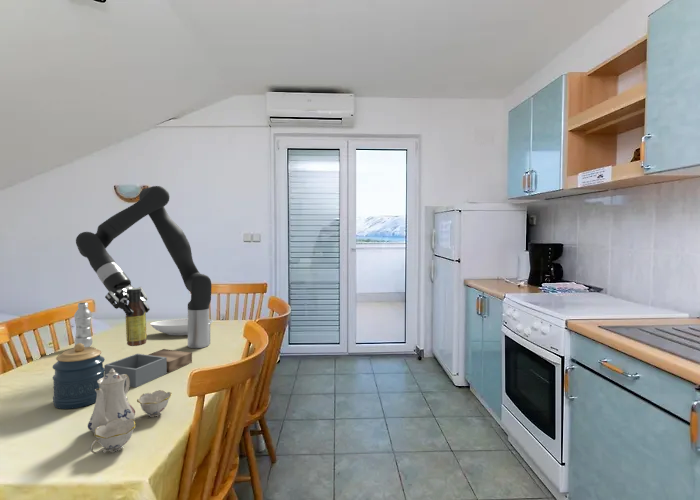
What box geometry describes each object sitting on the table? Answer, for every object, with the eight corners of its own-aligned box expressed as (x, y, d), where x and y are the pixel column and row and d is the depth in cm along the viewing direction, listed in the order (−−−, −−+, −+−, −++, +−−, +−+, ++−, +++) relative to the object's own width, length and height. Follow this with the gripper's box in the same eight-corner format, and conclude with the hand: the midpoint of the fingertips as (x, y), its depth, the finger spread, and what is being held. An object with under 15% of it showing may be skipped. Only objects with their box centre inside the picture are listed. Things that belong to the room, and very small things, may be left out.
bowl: (214, 328, 207) (214, 317, 207) (211, 335, 193) (211, 324, 193) (153, 331, 200) (153, 320, 199) (146, 339, 185) (146, 326, 185)
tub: (137, 369, 144) (137, 353, 144) (166, 373, 140) (166, 357, 140) (104, 382, 131) (104, 365, 131) (135, 387, 127) (135, 369, 127)
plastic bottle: (83, 350, 166) (83, 304, 165) (70, 349, 167) (70, 303, 166) (96, 346, 172) (95, 302, 171) (83, 345, 174) (83, 301, 173)
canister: (48, 413, 108) (47, 351, 107) (58, 396, 119) (57, 340, 119) (102, 404, 114) (102, 346, 113) (107, 389, 125) (106, 336, 125)
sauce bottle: (150, 343, 137) (150, 288, 136) (134, 347, 131) (133, 290, 130) (138, 340, 139) (137, 286, 138) (121, 345, 134) (121, 289, 133)
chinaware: (127, 467, 87) (134, 395, 86) (50, 462, 85) (57, 389, 85) (175, 410, 114) (180, 356, 114) (117, 406, 113) (123, 351, 113)
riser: (163, 358, 157) (163, 348, 157) (191, 362, 153) (191, 352, 152) (139, 368, 145) (139, 357, 145) (169, 372, 141) (169, 361, 141)
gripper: (100, 272, 129) (128, 310, 126) (136, 269, 143) (161, 302, 140) (89, 287, 131) (116, 324, 128) (125, 282, 145) (150, 315, 142)
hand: (139, 312), depth 134 cm, fingers closed on sauce bottle, 6 cm apart
